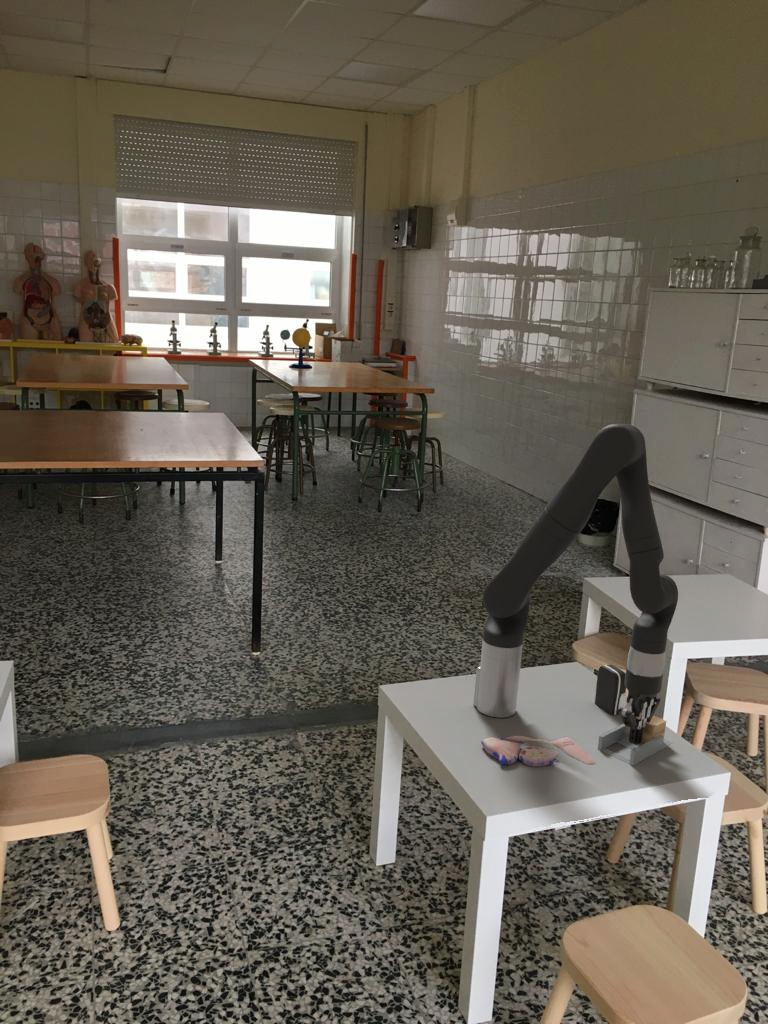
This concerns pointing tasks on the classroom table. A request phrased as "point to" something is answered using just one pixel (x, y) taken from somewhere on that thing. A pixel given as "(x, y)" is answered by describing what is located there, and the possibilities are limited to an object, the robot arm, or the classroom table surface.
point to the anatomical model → (533, 751)
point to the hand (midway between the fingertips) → (634, 742)
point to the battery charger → (609, 688)
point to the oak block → (653, 729)
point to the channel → (630, 744)
